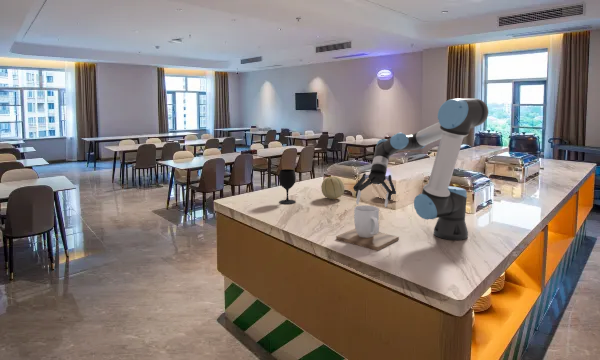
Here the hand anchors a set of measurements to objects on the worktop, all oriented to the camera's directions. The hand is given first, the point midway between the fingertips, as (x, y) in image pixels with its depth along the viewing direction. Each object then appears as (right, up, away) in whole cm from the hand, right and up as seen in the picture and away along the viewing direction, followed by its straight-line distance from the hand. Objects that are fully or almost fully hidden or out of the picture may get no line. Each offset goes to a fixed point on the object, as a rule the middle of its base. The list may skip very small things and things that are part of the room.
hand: (371, 204), depth 198 cm
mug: (-3, -15, -4) cm, 15 cm away
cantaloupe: (-12, -1, +72) cm, 73 cm away
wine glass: (-41, -3, +64) cm, 76 cm away
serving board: (-3, -16, -4) cm, 17 cm away
